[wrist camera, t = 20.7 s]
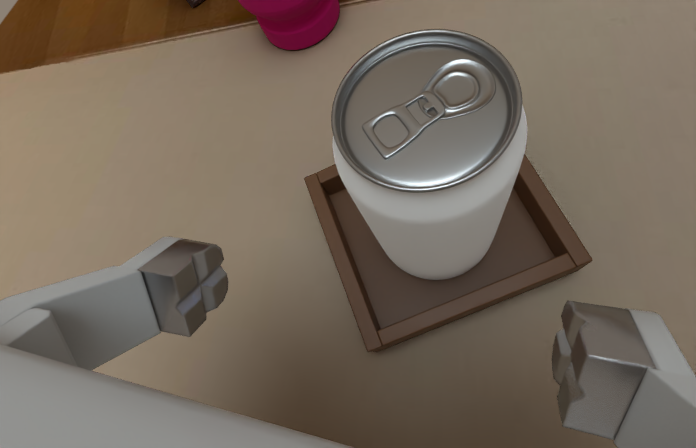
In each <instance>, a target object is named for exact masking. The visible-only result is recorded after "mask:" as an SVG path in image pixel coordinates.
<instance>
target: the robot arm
mask: <svg viewBox="0 0 696 448" xmlns="http://www.w3.org/2000/svg"><path fill="white" fill-rule="evenodd" d="M223 260H224V258H223V254H222V250H221V248H220V247H219V246H217V245H216V244H210V243H205V242H199V241H194V240H188V239H182V238H177V237H162V238H161V239H159V240H158V241H156V242H155V243H153V244H152V245H150V246H149V247H148V248H146V249H145V250H143V251H142V252H140V253H139V254H137V255H136V256H134V257H133V258H131V259H130V260H128V261H127V262H125V263H124V264H122V265H121V266H119V267H118V266H112V267H108V268H105V269H102V270H98V271H95V272H91V273H88V274H85V275H81V276H78V277H74V278H71V279H68V280H64V281H61V282H58V283H54V284H51V285H47V286H44V287H41V288H37V289H34V290H30V291H27V292H24V293H20V294H17V295H13V296H10V297H7V298H4V299H3V300H1V301H0V448H354V447H351V446H348V445H344V444H341V443H337V442H334V441H330V440H327V439H324V438H320V437H317V436H313V435H310V434H306V433H303V432H300V431H296V430H293V429H289V428H286V427H283V426H279V425H276V424H272V423H269V422H265V421H262V420H259V419H255V418H252V417H248V416H245V415H242V414H238V413H235V412H231V411H228V410H224V409H221V408H218V407H214V406H211V405H207V404H204V403H200V402H197V401H194V400H190V399H187V398H183V397H180V396H177V395H173V394H170V393H166V392H163V391H159V390H156V389H153V388H149V387H146V386H142V385H139V384H135V383H132V382H129V381H125V380H122V379H118V378H115V377H111V376H108V375H105V374H101V373H98V372H94V371H91V370H93V369H95V368H97V367H99V366H100V365H102V364H104V363H106V362H108V361H110V360H111V359H113V358H115V357H117V356H119V355H121V354H123V353H124V352H126V351H128V350H130V349H132V348H134V347H135V346H137V345H139V344H141V343H143V342H145V341H147V340H148V339H150V338H152V337H154V336H156V335H158V334H159V333H161V332H160V331H162V332H167V333H172V334H177V335H182V336H187V337H190V336H191V335H192V334H193V333H194V332H195V331H196V330H197V329H198V328H199V327H200V326H201V325H202V324H203V322H204V321H205V320H206V313H207V312H209V311H211V310H214V309H216V308H217V307H218V306H219V305H220V304H221V303H222V302H223V300H224V298H225V296H226V293H227V291H228V278H227V273H226V272H225V271H224V270H223V268H222V267H221V266H220V265H221V263H222V262H223ZM561 317H562V322H563V326H564V328H563V329H562V330H560V331H559V332H557V333H556V336H555V340H554V344H553V352H552V370H553V377H554V379H555V381H556V382H557V383H558V384H559V385H560V389H559V392H558V395H557V400H558V405H559V411H560V416H561V421H562V426H563V427H566V428H570V429H574V430H578V431H582V432H585V433H589V434H593V435H597V436H600V437H604V438H608V439H612V440H614V443H615V445H616V446H617V447H618V448H696V376H695V374H694V373H693V371H692V369H691V367H690V366H689V364H688V362H687V360H686V359H685V357H684V355H683V354H682V352H681V350H680V348H679V347H678V345H677V343H676V342H675V340H674V338H673V336H672V335H671V333H670V331H669V329H668V328H667V326H666V324H665V323H664V321H663V319H662V317H661V316H660V315H659V314H657V313H656V312H650V311H642V310H635V309H627V308H625V309H623V308H616V307H609V306H602V305H595V304H588V303H581V302H575V301H567V302H566V304H565V306H564V309H563V312H562V315H561Z"/></svg>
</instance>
